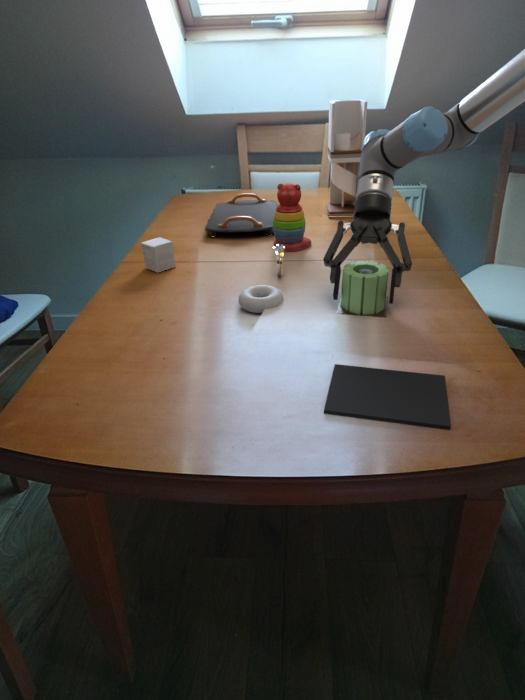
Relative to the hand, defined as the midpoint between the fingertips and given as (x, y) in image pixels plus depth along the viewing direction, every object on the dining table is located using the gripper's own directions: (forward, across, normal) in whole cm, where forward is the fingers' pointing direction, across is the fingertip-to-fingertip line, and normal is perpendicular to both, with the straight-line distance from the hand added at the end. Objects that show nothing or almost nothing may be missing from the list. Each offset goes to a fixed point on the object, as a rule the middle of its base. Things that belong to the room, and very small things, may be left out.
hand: (362, 299), depth 94 cm
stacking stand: (+1, 0, +5) cm, 5 cm away
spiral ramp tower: (-53, -13, +60) cm, 81 cm away
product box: (-11, -55, +17) cm, 59 cm away
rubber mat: (+21, +6, -16) cm, 27 cm away
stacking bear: (-27, -24, +33) cm, 48 cm away
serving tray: (-43, -45, +49) cm, 79 cm away
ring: (-11, -22, +17) cm, 30 cm away
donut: (+2, -22, +4) cm, 22 cm away
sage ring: (0, 0, +4) cm, 4 cm away
